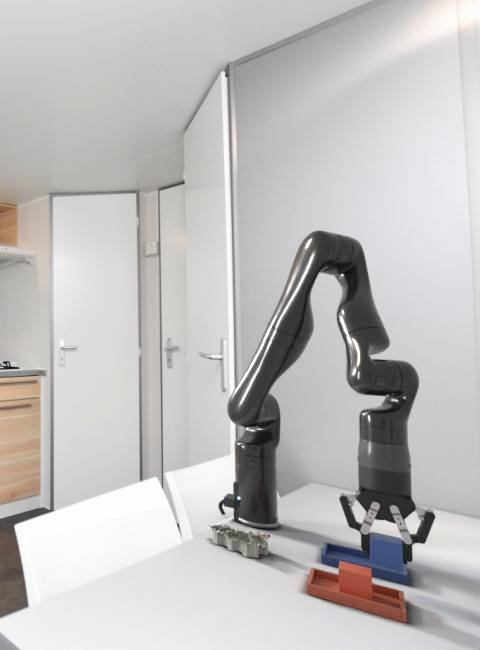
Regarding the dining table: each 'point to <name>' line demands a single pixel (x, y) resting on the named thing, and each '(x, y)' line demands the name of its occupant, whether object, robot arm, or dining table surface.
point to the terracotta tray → (383, 597)
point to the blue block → (386, 550)
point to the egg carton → (241, 540)
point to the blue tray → (361, 562)
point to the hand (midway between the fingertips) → (386, 557)
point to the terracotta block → (355, 580)
